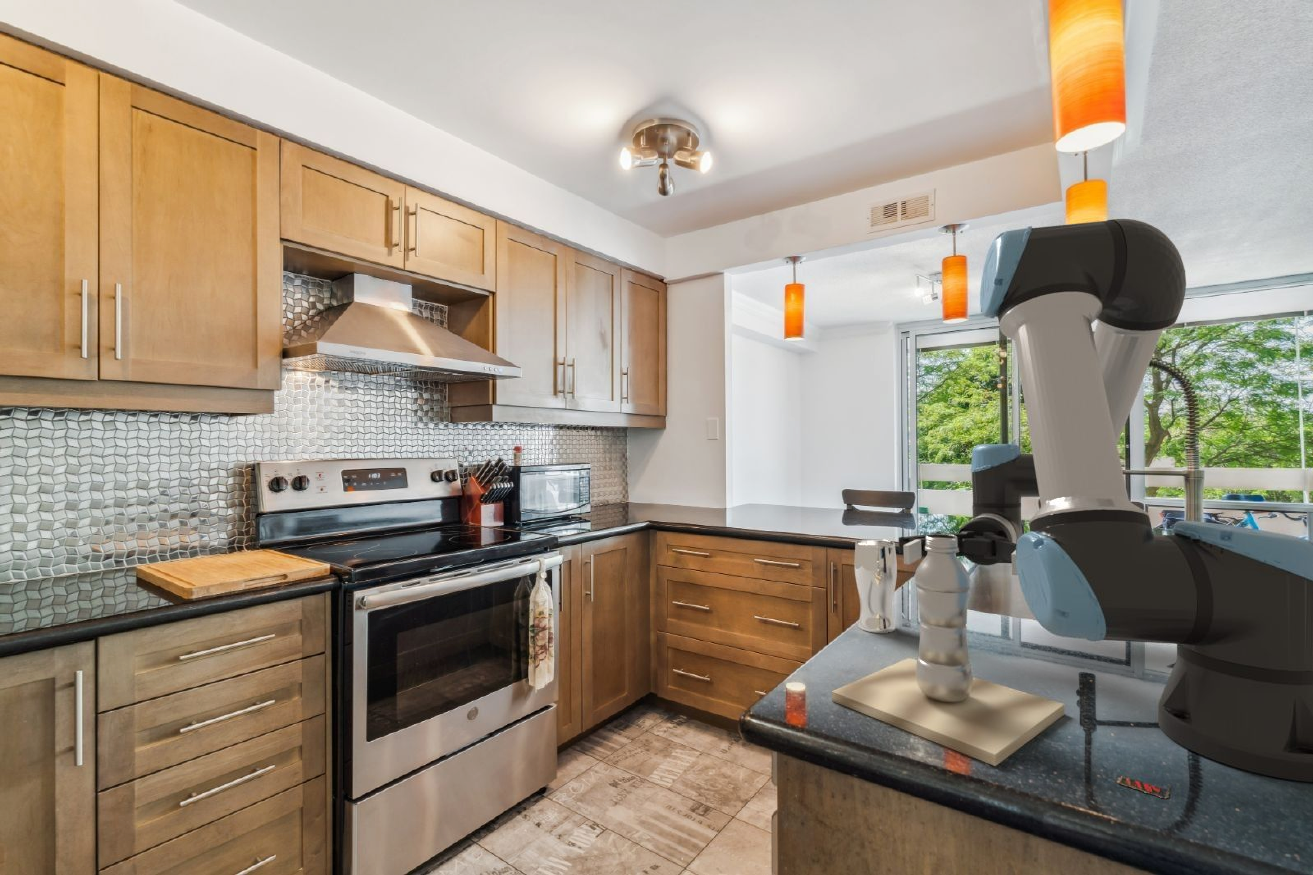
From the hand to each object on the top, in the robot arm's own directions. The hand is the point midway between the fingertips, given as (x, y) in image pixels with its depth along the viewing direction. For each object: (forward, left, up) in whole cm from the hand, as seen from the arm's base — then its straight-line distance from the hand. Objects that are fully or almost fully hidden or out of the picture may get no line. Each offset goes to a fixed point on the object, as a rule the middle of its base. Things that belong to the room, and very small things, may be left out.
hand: (957, 559), depth 83 cm
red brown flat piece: (-23, +11, -17) cm, 30 cm away
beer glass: (+20, -11, -17) cm, 29 cm away
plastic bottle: (-3, +10, -16) cm, 18 cm away
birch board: (-3, +10, -17) cm, 19 cm away
